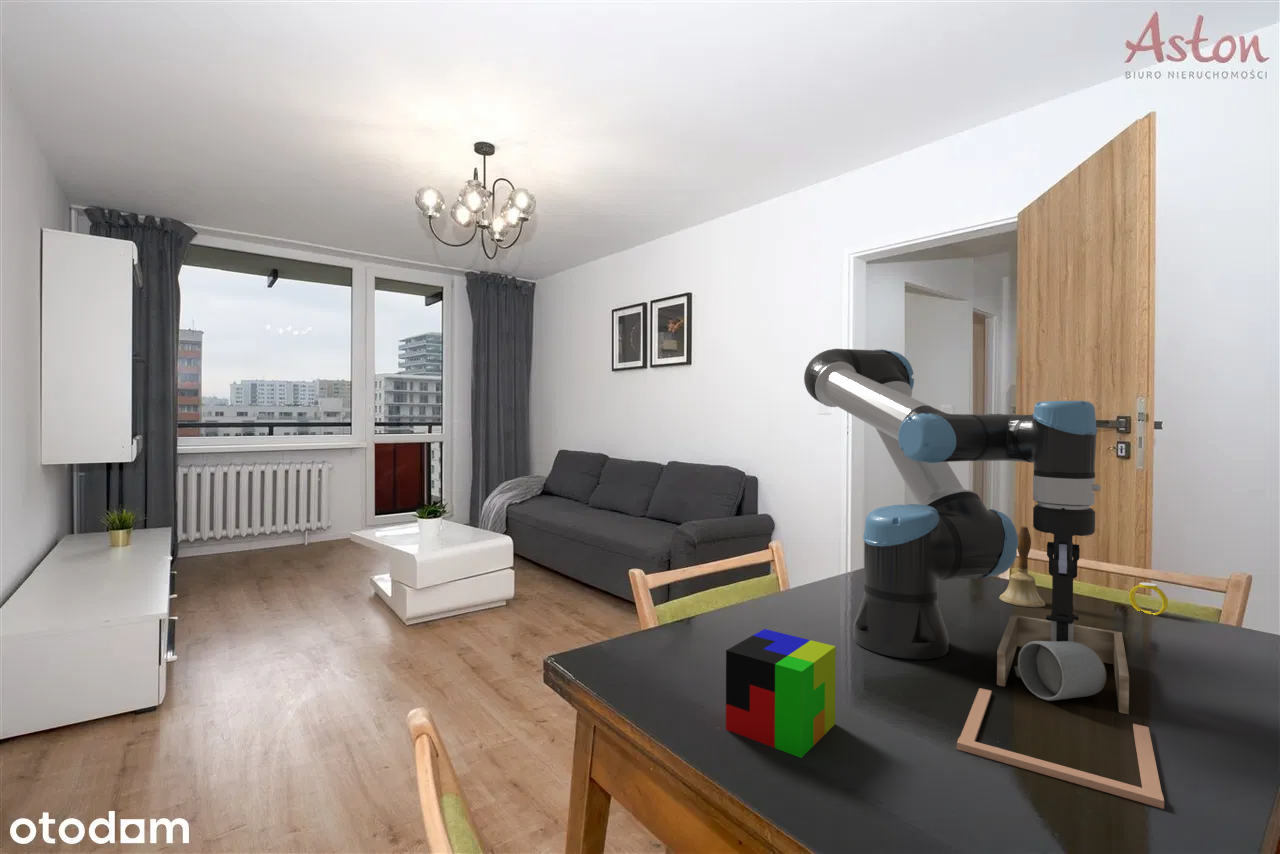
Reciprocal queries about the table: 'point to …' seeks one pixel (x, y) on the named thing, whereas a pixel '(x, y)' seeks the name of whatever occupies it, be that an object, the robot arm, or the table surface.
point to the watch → (1154, 587)
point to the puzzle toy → (781, 690)
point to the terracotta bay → (1145, 755)
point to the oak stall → (1097, 639)
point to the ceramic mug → (1060, 669)
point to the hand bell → (1022, 578)
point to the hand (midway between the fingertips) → (1061, 664)
